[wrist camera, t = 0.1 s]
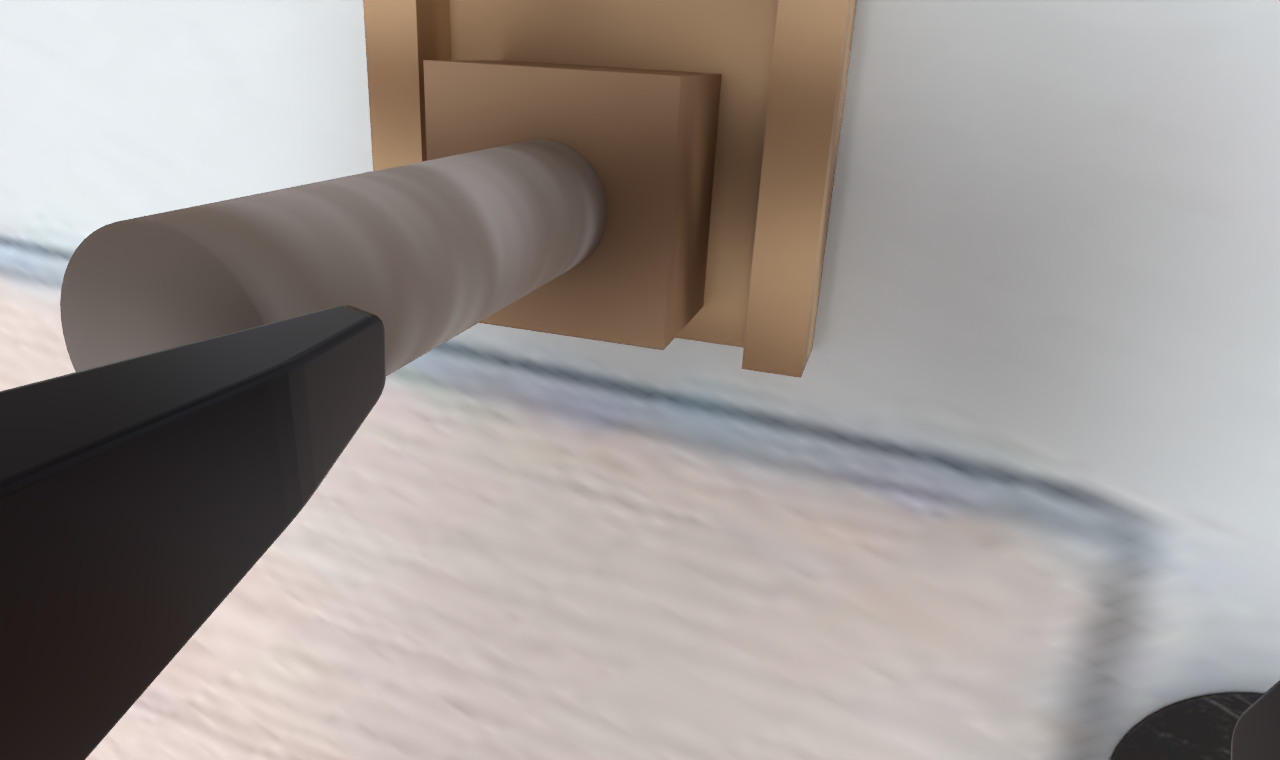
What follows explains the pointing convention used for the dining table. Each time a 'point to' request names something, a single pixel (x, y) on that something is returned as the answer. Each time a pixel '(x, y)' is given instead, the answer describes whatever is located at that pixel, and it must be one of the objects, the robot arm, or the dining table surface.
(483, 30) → the wooden u-channel cradle
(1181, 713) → the travel mug
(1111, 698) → the dining table surface
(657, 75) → the peg on square base
